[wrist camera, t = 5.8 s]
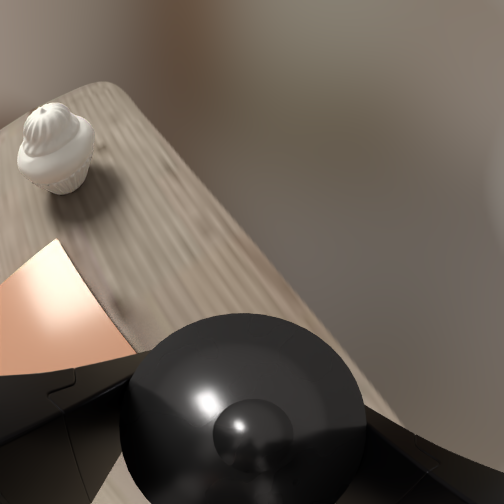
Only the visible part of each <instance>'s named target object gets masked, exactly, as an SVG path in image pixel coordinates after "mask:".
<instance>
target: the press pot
mask: <svg viewBox="0 0 504 504" xmlns="http://www.w3.org/2000/svg"><path fill="white" fill-rule="evenodd" d="M366 423H367V422H366V413H365V407H364V403H363V399H362V395H361V392H360V390H359V387H358V385H357V382H356V380H355V378H354V377H353V375H352V373H351V371H350V369H349V368H348V367H347V365H346V364H345V362H344V361H343V360H342V358H341V357H340V356H339V355H338V354H337V353H336V352H335V351H334V350H333V349H332V348H331V347H330V346H329V345H328V344H327V343H325V342H324V341H323V340H322V339H320V338H319V337H318V336H316V335H315V334H313V333H311V332H310V331H308V330H307V329H305V328H303V327H300V326H298V325H296V324H294V323H292V322H289V321H286V320H283V319H280V318H276V317H271V316H267V315H261V314H250V313H238V314H226V315H219V316H214V317H210V318H206V319H202V320H199V321H197V322H194V323H192V324H189V325H187V326H185V327H183V328H181V329H179V330H178V331H176V332H174V333H172V334H171V335H169V336H168V337H167V338H165V339H164V340H163V341H161V342H160V343H159V344H158V345H157V346H156V347H155V348H154V349H152V350H151V351H150V352H149V353H148V354H147V356H146V357H145V358H144V359H143V361H142V362H141V363H140V364H139V366H138V367H137V369H136V371H135V372H134V374H133V376H132V378H131V379H130V382H129V384H128V386H127V389H126V391H125V394H124V397H123V401H122V405H121V410H120V420H119V433H120V443H121V448H122V453H123V457H124V460H125V462H126V465H127V468H128V471H129V472H130V474H131V476H132V478H133V480H134V482H135V484H136V485H137V487H138V488H139V489H140V491H141V492H142V493H143V495H144V496H145V497H146V499H147V500H148V501H149V502H150V503H151V504H335V503H336V502H337V501H338V500H339V498H340V497H341V496H342V495H343V494H344V492H345V491H346V490H347V488H348V486H349V485H350V483H351V482H352V480H353V478H354V476H355V474H356V472H357V470H358V468H359V465H360V462H361V459H362V456H363V452H364V447H365V441H366Z"/></svg>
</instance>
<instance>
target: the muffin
mask: <svg viewBox="0 0 504 504" xmlns="http://www.w3.org/2000/svg"><path fill="white" fill-rule="evenodd" d="M23 135H24V141H23V143H22V144H21V147H20V149H19V152H18V158H17V163H18V168H19V170H20V172H21V173H22V175H23V176H24V177H26V178H27V179H28V180H30V181H32V183H33V184H35V185H37V186H38V187H41V188H43V189H45V190H47V191H50V192H52V193H54V194H58V195H60V194H62V195H64V194H68V193H71V192H73V191H74V190H76V189H77V188H79V187H80V185H82V183H83V182H84V181H85V179H86V176H87V172H88V169H89V165H90V162H91V158H92V155H93V152H94V150H93V147H94V145H93V144H94V139H95V133H94V129H93V127H92V125H91V124H90V123H89V122H88V121H87V120H86V119H84V118H82V117H80V116H76V115H74V114H73V113H71V112H70V110H69V108H68V107H66V106H65V105H63V104H61V103H49V104H45V105H43V106H42V107H39V108H38V109H37V110H35V111H33V112H32V114H31V115H30V116H29V117H28V118H27V121H26V122H25V124H24V131H23Z"/></svg>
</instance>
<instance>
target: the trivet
mask: <svg viewBox="0 0 504 504" xmlns="http://www.w3.org/2000/svg"><path fill="white" fill-rule="evenodd" d="M133 354H137V353H136V352H135V350H134V349H133V348H132V347H131V345H130V344H129V343H128V342H127V340H126V339H125V338H124V336H123V335H122V334H121V333H120V331H119V330H118V329H117V327H116V326H115V325H114V323H113V322H112V321H111V319H110V318H109V317H108V315H107V314H106V312H105V311H104V310H103V308H102V307H101V305H100V304H99V303H98V301H97V300H96V298H95V297H94V295H93V294H92V292H91V291H90V289H89V288H88V287H87V285H86V284H85V282H84V280H83V279H82V277H81V276H80V274H79V273H78V271H77V270H76V268H75V266H74V265H73V263H72V262H71V260H70V258H69V257H68V255H67V253H66V252H65V250H64V248H63V247H62V245H61V243H60V242H59V240H58V239H55V240H54V241H53V242H51V243H50V244H49V245H47V246H46V247H45V248H44V249H42V250H41V251H40V252H39V253H37V254H36V255H35V256H34V257H32V258H31V259H30V260H29V261H27V262H26V263H25V264H24V265H23V266H21V267H20V268H19V269H18V270H17V271H16V272H14V273H13V274H12V275H11V276H10V277H9V278H7V279H6V280H5V281H4V282H3V283H2V284H1V285H0V376H2V375H19V374H32V373H43V372H51V371H57V370H63V369H68V368H75V367H80V366H85V365H90V364H94V363H99V362H103V361H108V360H112V359H116V358H121V357H125V356H129V355H133Z"/></svg>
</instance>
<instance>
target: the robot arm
mask: <svg viewBox="0 0 504 504" xmlns="http://www.w3.org/2000/svg"><path fill="white" fill-rule="evenodd" d="M150 351H151V350H149V351H145V352H141V353H137V354H133V355H129V356H125V357H121V358H116V359H112V360H108V361H103V362H99V363H94V364H90V365H85V366H80V367H75V368H68V369H63V370H57V371H51V372H43V373H32V374H19V375H2V376H0V504H90V503H92V501H93V500H94V498H95V496H96V494H97V493H98V491H99V489H100V488H101V486H102V484H103V483H104V481H105V479H106V478H107V476H108V474H109V472H110V471H111V469H112V467H113V466H114V464H115V462H116V461H117V459H118V457H119V456H120V454H121V452H122V448H121V443H120V433H119V420H120V410H121V405H122V401H123V397H124V394H125V391H126V389H127V386H128V384H129V382H130V379H131V378H132V376H133V374H134V372H135V371H136V369H137V367H138V366H139V364H140V363H141V362H142V361H143V359H144V358H145V357H146V356H147V354H148V353H149V352H150ZM364 407H365V413H366V422H367V423H366V441H365V447H364V452H363V456H362V459H361V462H360V465H359V468H358V470H357V472H356V474H355V476H354V478H353V480H352V482H351V483H350V485H349V486H348V488H347V490H346V491H345V492H344V494H343V495H342V496H341V497H340V498H339V500H338V501H337V502H336V504H504V473H503V472H500V471H498V470H495V469H492V468H490V467H487V466H484V465H482V464H479V463H477V462H474V461H472V460H470V459H467V458H464V457H462V456H460V455H458V454H455V453H453V452H451V451H448V450H446V449H444V448H442V447H440V446H438V445H435V444H434V443H432V442H430V441H428V440H426V439H424V438H422V437H420V436H418V435H415V434H414V433H412V432H410V431H409V430H407V429H405V428H403V427H402V426H400V425H398V424H396V423H395V422H393V421H391V420H389V419H388V418H386V417H384V416H383V415H381V414H379V413H377V412H376V411H374V410H372V409H371V408H369V407H367V406H366V405H364Z"/></svg>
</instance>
